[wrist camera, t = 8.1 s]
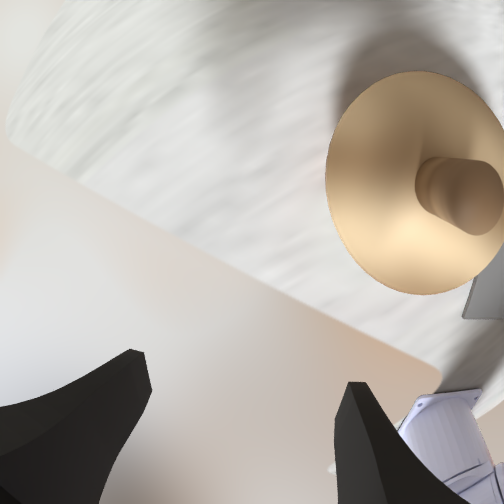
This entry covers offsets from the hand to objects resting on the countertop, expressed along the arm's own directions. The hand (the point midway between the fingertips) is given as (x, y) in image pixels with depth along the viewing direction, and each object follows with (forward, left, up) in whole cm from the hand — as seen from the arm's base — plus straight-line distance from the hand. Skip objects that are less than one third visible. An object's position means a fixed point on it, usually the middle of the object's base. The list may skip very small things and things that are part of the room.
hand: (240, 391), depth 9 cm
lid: (+7, -8, -7) cm, 13 cm away
